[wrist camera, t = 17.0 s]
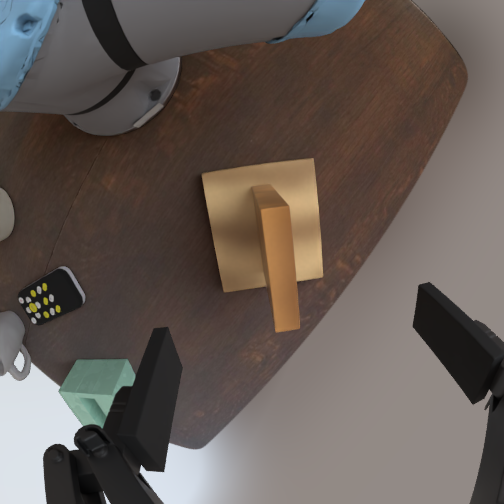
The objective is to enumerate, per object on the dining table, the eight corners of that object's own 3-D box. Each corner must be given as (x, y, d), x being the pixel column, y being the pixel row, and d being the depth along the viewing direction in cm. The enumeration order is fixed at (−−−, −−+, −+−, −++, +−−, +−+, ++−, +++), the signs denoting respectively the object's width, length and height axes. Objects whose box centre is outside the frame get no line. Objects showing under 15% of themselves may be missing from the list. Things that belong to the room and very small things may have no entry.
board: (202, 172, 32) (201, 174, 30) (310, 157, 32) (313, 158, 30) (224, 287, 36) (223, 292, 35) (320, 272, 36) (323, 277, 35)
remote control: (90, 299, 36) (84, 306, 34) (39, 322, 37) (34, 329, 36) (68, 261, 34) (61, 267, 32) (20, 290, 35) (13, 296, 34)
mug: (-8, 313, 37) (-37, 341, 28) (7, 292, 35) (-26, 322, 26) (32, 362, 41) (9, 395, 31) (52, 347, 39) (26, 384, 30)
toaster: (113, 419, 45) (103, 450, 38) (77, 359, 40) (58, 391, 33) (160, 421, 45) (152, 455, 38) (127, 358, 40) (112, 395, 32)
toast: (263, 272, 34) (275, 333, 23) (251, 186, 31) (260, 209, 20) (280, 269, 34) (300, 329, 23) (270, 183, 31) (289, 205, 20)
